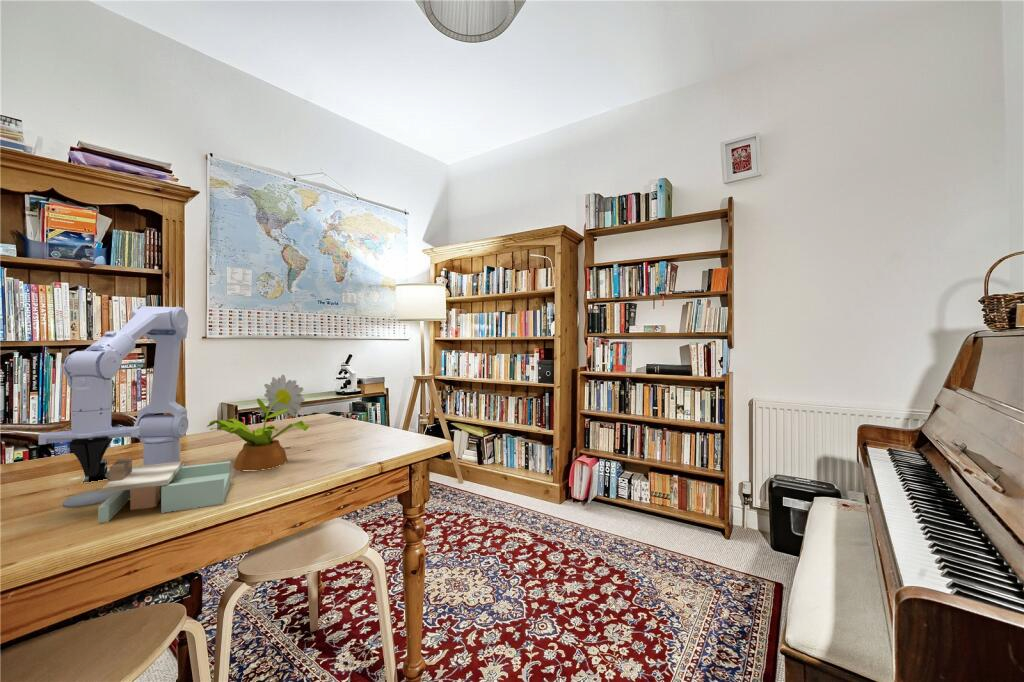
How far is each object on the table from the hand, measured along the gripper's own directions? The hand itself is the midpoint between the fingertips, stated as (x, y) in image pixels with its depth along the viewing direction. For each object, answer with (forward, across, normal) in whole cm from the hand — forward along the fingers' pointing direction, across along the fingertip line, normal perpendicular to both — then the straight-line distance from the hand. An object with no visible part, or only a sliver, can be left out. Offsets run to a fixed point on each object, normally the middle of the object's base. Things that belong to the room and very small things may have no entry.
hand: (91, 474), depth 83 cm
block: (+8, +8, 0) cm, 12 cm away
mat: (+8, -2, +9) cm, 12 cm away
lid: (+2, +9, 0) cm, 9 cm away
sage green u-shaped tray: (+8, +13, 0) cm, 15 cm away
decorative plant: (+8, +28, +21) cm, 36 cm away
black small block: (+9, -7, +27) cm, 29 cm away
